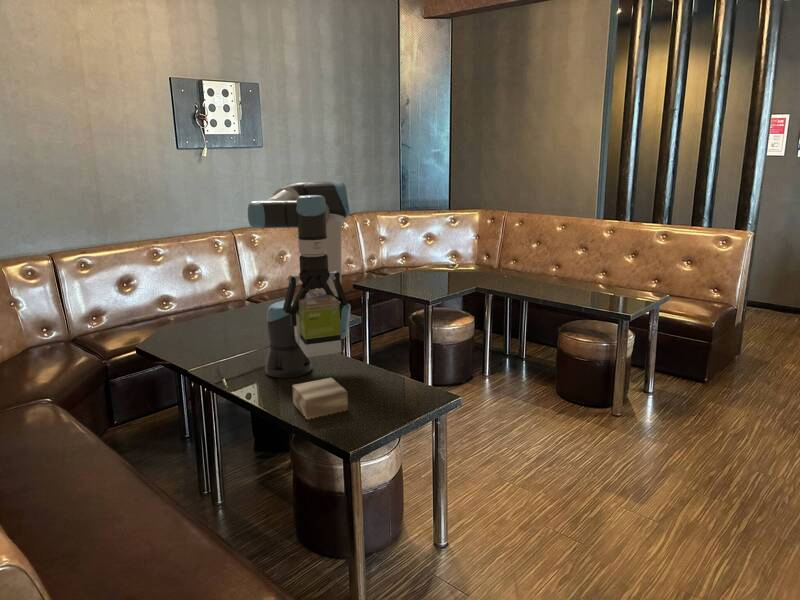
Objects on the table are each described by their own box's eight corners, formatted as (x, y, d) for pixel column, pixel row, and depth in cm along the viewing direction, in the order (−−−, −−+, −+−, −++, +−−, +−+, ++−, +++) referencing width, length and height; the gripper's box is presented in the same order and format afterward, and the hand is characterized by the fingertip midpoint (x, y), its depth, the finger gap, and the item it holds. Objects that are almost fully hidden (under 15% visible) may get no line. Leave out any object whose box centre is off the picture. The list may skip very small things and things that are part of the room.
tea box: (294, 341, 172) (291, 291, 168) (328, 337, 175) (326, 288, 171) (305, 358, 158) (302, 303, 154) (342, 353, 161) (340, 299, 158)
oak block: (293, 404, 174) (292, 385, 172) (332, 396, 179) (331, 377, 178) (307, 420, 163) (305, 399, 162) (347, 411, 169) (347, 391, 167)
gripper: (275, 260, 152) (280, 344, 157) (358, 252, 162) (360, 331, 167) (267, 256, 158) (272, 336, 164) (347, 248, 169) (350, 324, 174)
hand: (317, 333), depth 166 cm, fingers closed on tea box, 10 cm apart
